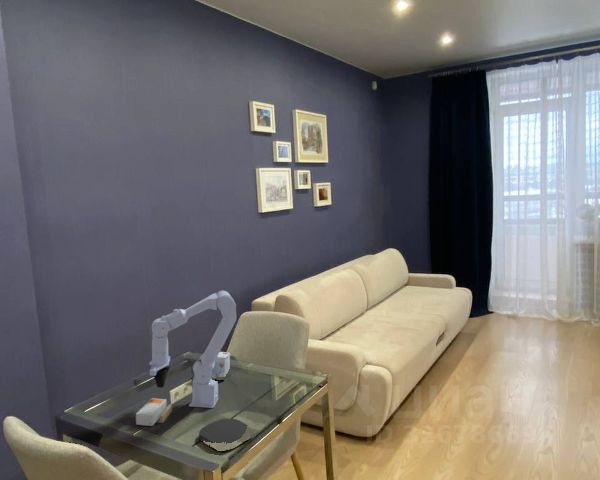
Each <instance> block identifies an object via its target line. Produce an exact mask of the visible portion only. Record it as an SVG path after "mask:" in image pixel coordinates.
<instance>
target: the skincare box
mask: <svg viewBox="0 0 600 480" xmlns="http://www.w3.org/2000/svg"><path fill="white" fill-rule="evenodd" d="M167 406H168V405H167V398H156V397H155V398H153V397H152V398H150V399H149V400H148V401H147V402H146V403H144V405H143V406H142V407H141V408H140V409H139V410H138V411H137V412H136V414H135V425H138V426H139V425H140V426H144V427H145V426H147V427H148V426H149V427H152V426H154V425H155V424H156V423H155V422H156V421H157V420H158V419H159V418H160V417H159V416H160V415H161V414H162V412H163V411H164V410H165V409H166V407H167Z"/></svg>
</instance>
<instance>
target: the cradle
mask: <svg viewBox="0 0 600 480" xmlns="http://www.w3.org/2000/svg"><path fill="white" fill-rule="evenodd" d="M166 406H167V407H166V409H165V410H164V411H163V412H162V414H161V415H160V416H159V417H160V418H159V419H158V420H157V421H156V422H155V424H156V423H157V424H163V423H164V422H165V421H166V420H167V418H168V417H169V416H170V415H171V413H172V412H173V404H167V405H166Z"/></svg>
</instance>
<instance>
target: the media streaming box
mask: <svg viewBox="0 0 600 480" xmlns="http://www.w3.org/2000/svg"><path fill="white" fill-rule="evenodd" d="M247 426H249V425H248V424H247V423H246V422H243V421H241V420H239V419H237V418H221V419H217V420H215V421H212V422H211V423H207V424H206V425H205V426H203V427H202V428H201V429H200V430H199V431H198V439H200V440H202V441H205V442H211V443H215V442H216V443H222V442H224V443H225V442H226V444H227V443H232V442H234V441H236V440H238V439H240V438H241V437H242V435H243V434H244V433H245V431H246V429H247ZM200 440H199V441H200Z"/></svg>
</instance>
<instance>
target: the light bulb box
mask: <svg viewBox="0 0 600 480" xmlns="http://www.w3.org/2000/svg"><path fill="white" fill-rule="evenodd" d="M230 363H231V353H230V352H227V351H226V352H225V351H220V352H219V354H218V356H217V358H216V360H215V364H214V368H213V370H212V377H211V378H216V377H225V376H226V374H227V373H228V371H229V369H231V367H230V365H231V364H230Z"/></svg>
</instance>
